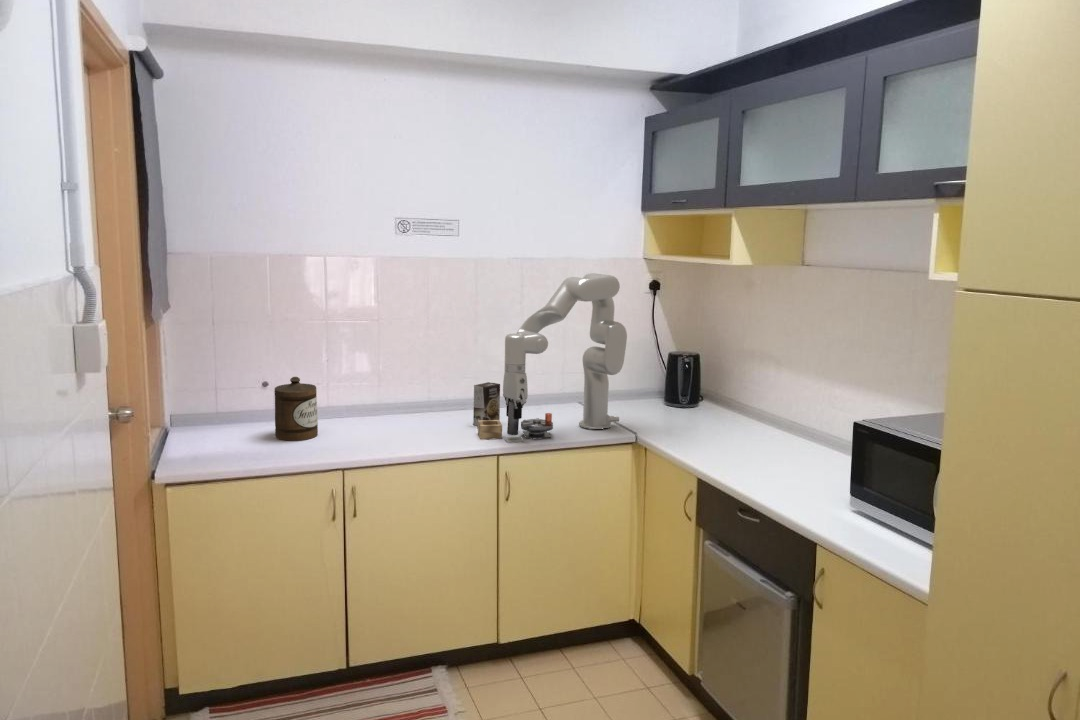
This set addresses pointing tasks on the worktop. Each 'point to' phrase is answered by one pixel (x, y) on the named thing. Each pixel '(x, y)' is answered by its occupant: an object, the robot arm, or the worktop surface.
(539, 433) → the wheel pedestal
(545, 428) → the handwheel
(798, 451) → the worktop surface
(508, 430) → the dark grey rounded cylinder
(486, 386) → the coffee box
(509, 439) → the mat
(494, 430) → the eye block
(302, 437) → the wooden container
